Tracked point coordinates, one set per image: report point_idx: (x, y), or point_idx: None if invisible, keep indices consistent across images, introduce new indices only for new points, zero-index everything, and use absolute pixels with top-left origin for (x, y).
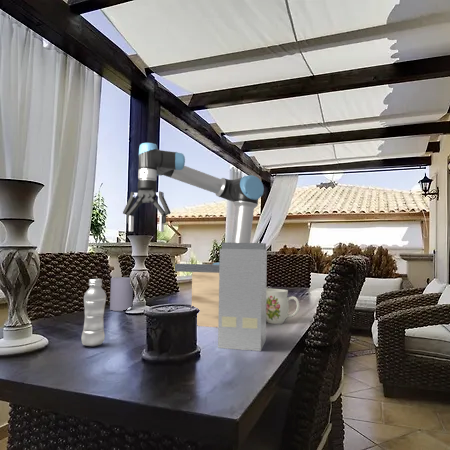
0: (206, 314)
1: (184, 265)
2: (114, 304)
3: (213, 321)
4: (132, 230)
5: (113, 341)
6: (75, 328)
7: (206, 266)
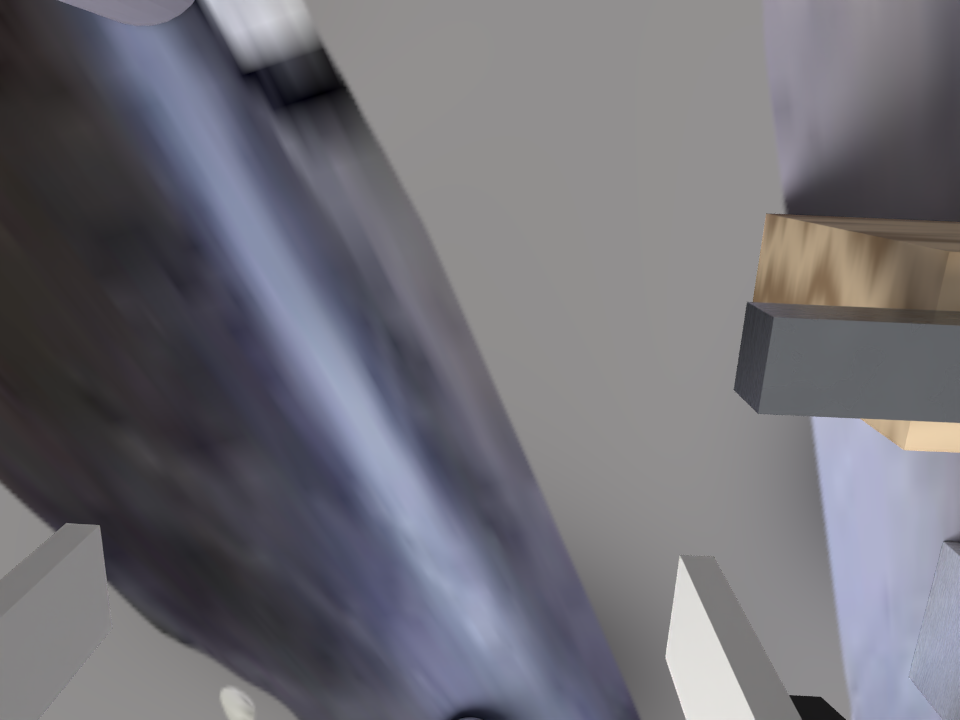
0: None
1: (850, 414)
2: (105, 16)
3: None
4: (94, 568)
5: (510, 676)
6: (240, 528)
7: None
